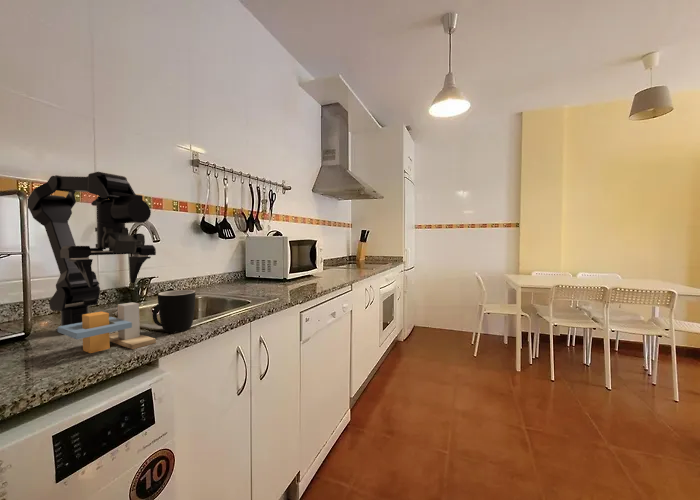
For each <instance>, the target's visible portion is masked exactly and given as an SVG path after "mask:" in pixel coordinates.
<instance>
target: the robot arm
mask: <svg viewBox="0 0 700 500" xmlns="http://www.w3.org/2000/svg"><path fill="white" fill-rule="evenodd" d="M56 191H57V192H58V191H59V192H66V193H67V195H66V197H65V196H63V195H57V194H55V192H56ZM76 192H78V193H79V192H81V193H89V194H93V195H95V196H97V197H96V198H95V199H94V200H92V202H91V205H92V206H93V207H96V227H94V232H96V233H97V237H96V238H97V241H96V243H95V247H91V246H90V245H76V242H75V240H74V236H73V233H72V231H71V228H70V225H69V220H70V219H71V218H70V217H72V213H73V211H72V209H73V207H74V206H75V204H76V203H77V200H76V195H75V194H76ZM143 198H144V197H143V195H142V194H140V195H139V194H136V193H135V191H134V189H133V187H132V185H131V184H130V183H129V182H128V178H127V177H126V176H123V175H117V174H113V173H107V172H103V171H94V172H91V173H89V174H88V175H87V176H71V175H70V176H67V175H66V176H64V175H57V174H56V175H52V176H50V177H49V179H48V180H47V182H45V183H43V184H41V185H39V186H37V187H35V188H33V190H32V191H31V193H30V195H29V196H28V197H27V200H28V207H27V209H28V210H29V211H30V214H31V215H32V218H33V219H34V220H35V221H36V222H38V223H39V224H40V225H42V226H43V227H44V229H45V232H46V235H47V238H48V241H49V244H50V247H51V249H52V253H53V256H54V259H55V262H56V264H57V265H56V266H57V268H58V271H59V275H60V276H59V277H58V280H57V282H56V283H55V288H56V289H55V293H54V294H53V296H51V299H50V301H48V302H49V303H48V304H49V307H50V310H51V311H59V312H60V326H64V325H70V324H75V323H81V322H82V315H83V314H89V313H90V310H89V308H90V306H97V305H98V301H99V298H100V294H101V287H100V282H99V281H98V279H97V275H96V272H95V271H93V270H92V269H93V268H92V264H93V259H92V258H90V256H105V255H106V256H108V255H109V256H110V255H131V256H129V257H128V264H129V279H130V283H131V284H135V282H136V280H137V278H138V275H139V273H140V270H141V268H142V266H143V264H144V263H145V262H146V261H147V260H148V259H151V256H157V255H156V254H157V250H156V247H155V246H154V245H153V244H146V239H145V235H144V234H143V233H133V234H132V235H130V234H129V228H128V227H126V224H139V223H140V224H141V223H145V222H146V223H147V221H148V220H150V218H151V214H152V210H151V209H150V206H149V204H148V203H147V202H146V201H145V200H143ZM106 249H108V250H106ZM55 332H58V327H57V328H55Z"/></svg>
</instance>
